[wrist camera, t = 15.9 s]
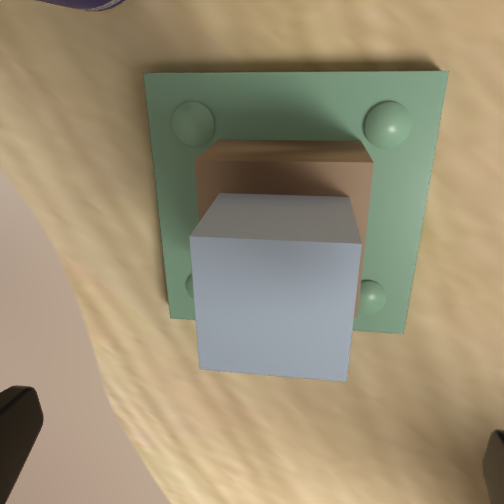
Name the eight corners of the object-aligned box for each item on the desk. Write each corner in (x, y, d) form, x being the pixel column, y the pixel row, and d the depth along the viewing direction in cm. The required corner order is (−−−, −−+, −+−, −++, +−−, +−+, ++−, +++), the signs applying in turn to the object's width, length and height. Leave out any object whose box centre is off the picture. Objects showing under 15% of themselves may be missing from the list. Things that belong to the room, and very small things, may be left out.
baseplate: (441, 70, 17) (450, 71, 16) (400, 322, 22) (404, 335, 21) (151, 72, 18) (142, 73, 17) (175, 308, 23) (169, 319, 22)
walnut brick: (361, 140, 17) (373, 162, 14) (349, 270, 20) (357, 317, 16) (218, 139, 18) (194, 160, 14) (224, 264, 21) (205, 308, 17)
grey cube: (349, 196, 14) (361, 244, 11) (339, 309, 16) (346, 381, 13) (219, 193, 15) (189, 236, 11) (224, 302, 17) (199, 369, 13)
